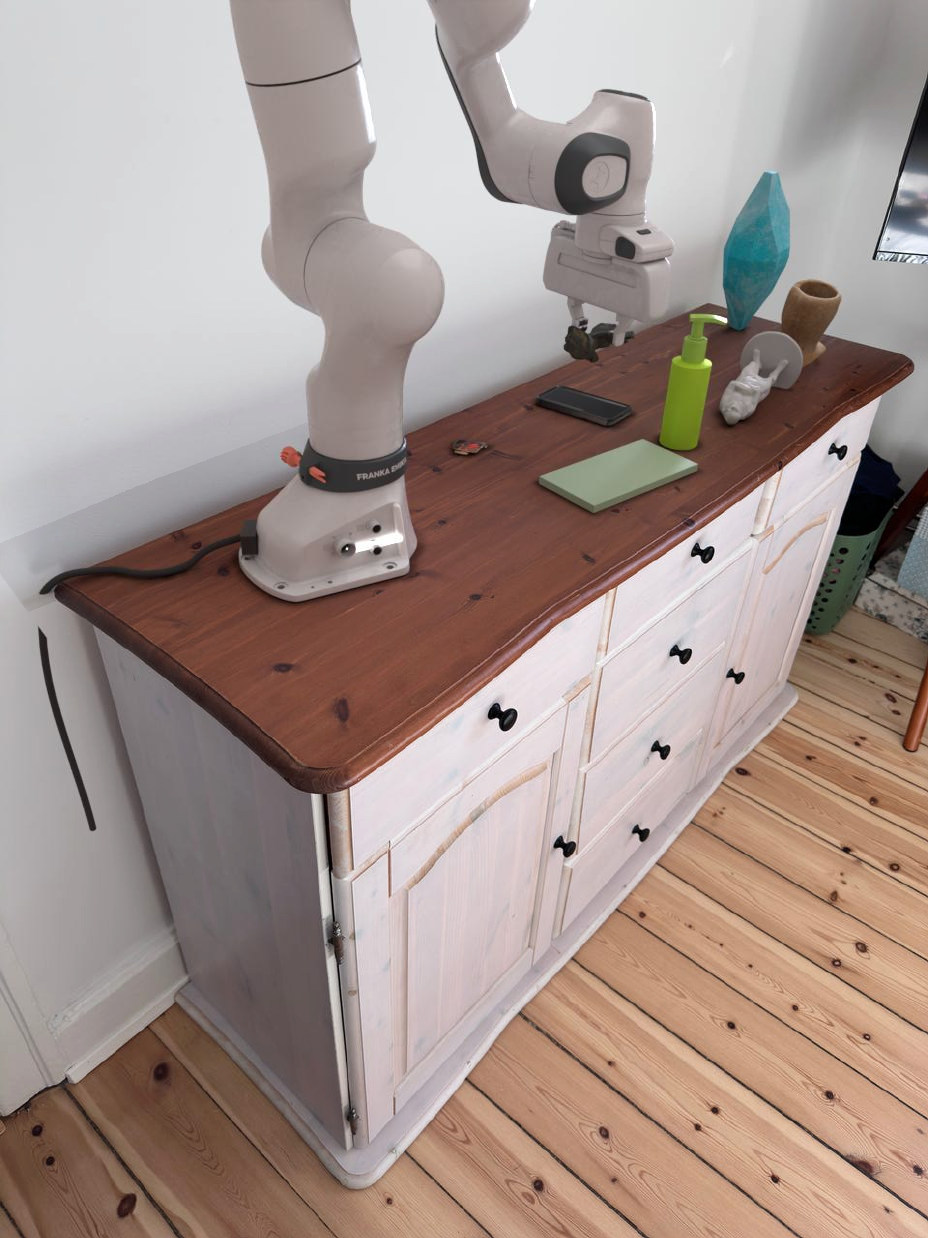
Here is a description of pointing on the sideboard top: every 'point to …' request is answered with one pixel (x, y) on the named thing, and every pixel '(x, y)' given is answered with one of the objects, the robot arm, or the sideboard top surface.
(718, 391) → the sideboard top surface
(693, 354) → the soap dispenser
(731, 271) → the crystal
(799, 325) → the stone cup
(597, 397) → the phone
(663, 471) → the board
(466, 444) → the matchbox
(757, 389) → the male figure
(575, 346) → the statue
